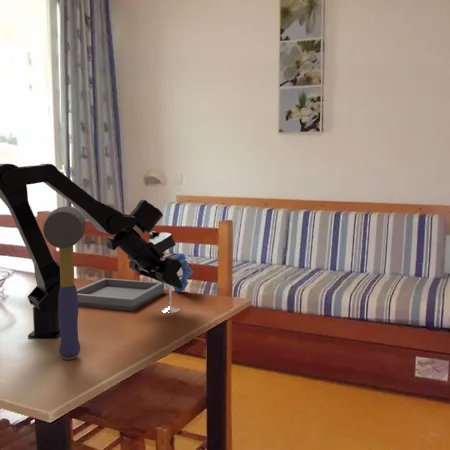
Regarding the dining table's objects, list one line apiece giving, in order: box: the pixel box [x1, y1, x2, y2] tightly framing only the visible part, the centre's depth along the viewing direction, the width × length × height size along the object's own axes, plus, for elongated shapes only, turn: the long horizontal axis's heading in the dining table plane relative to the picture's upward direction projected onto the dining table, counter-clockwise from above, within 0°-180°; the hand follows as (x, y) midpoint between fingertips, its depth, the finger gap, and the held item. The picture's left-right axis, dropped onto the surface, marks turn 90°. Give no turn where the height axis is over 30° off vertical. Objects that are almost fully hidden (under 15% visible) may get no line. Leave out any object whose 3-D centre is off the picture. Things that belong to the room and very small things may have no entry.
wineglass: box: [160, 268, 183, 314], centre depth 133 cm, size 7×7×12 cm
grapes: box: [172, 253, 194, 293], centre depth 152 cm, size 12×7×12 cm, turn 24°
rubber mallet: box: [42, 205, 87, 361], centre depth 99 cm, size 12×8×30 cm, turn 13°
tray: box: [76, 277, 165, 312], centre depth 145 cm, size 20×20×3 cm
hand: (174, 284), depth 134 cm, fingers open, 6 cm apart
